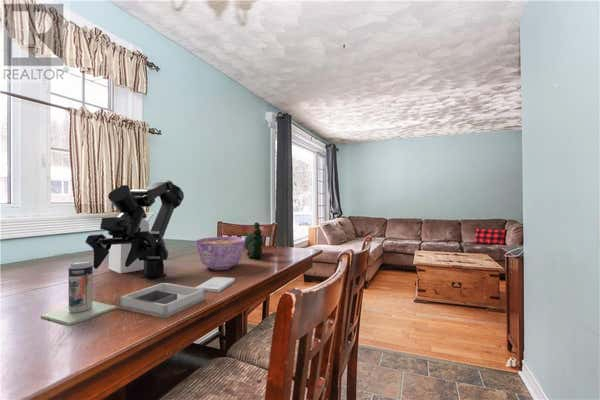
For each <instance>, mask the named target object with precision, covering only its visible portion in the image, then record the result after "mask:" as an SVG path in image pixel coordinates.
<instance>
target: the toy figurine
mask: <svg viewBox="0 0 600 400" xmlns="http://www.w3.org/2000/svg"><path fill="white" fill-rule="evenodd" d="M253 227H254V230H253V233H249V234H248V235H246V237H244V239H245V244H244V248H245V249H246V250H247V252H246V255H247V257H248V259H250V260H251V259H257V258H259V259H262V258H263V245H264V240H263V236H262V233H263V231H262V229H261V228H260V223H259V222H257V221H256V222H254V224H253Z"/></svg>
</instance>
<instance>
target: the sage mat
mask: <svg viewBox="0 0 600 400" xmlns="http://www.w3.org/2000/svg"><path fill="white" fill-rule="evenodd" d="M113 310H117V306H116V305H112V304H108V303H104V302H98V301H93V300H92V308H90V309H89V310H87V311H85V312H80V313H72V312H70V311H69V306H67V307H63V308H59V309H57V310H53V311H49V312H47V313H43V314H41V315H40V318H41V317H42V318H41V319H44V318H45V320H48V319H49V320H48V321H52V322H55V323H58V324H62V325H66V326H72V325H75V324H77V323H80V322H82V321H86V320H89V319H91V318H94V317H97V316H99V315H103V314H104V313H108V312H111V311H113Z"/></svg>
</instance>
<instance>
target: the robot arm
mask: <svg viewBox="0 0 600 400" xmlns="http://www.w3.org/2000/svg"><path fill="white" fill-rule="evenodd" d="M107 196H108V197H107V198H108V199H109V201H110V202H111V204H112V205H113V206H114V207H115V208H116V209H115V210H117V211H118V212H119V213H120V214H121V213H123V214H122V215H121V217H118V216H112V217H111V216H110V217H101V221H100V228H99V230H104V231H107V234H108V235H109V236H110V235H112V238H110V237H106V236H105V235H104V234H103V233H99V234H98V233H96V234H89V235H87V238H86V240H85V241H84V242H85V244H87V245H88V246H90V248H92V251H93V264H92V265H93V268H94V269H95V270H98V269H99V267H100V266H101V265H102V263H103V262H104V260H105V259H106V258H107V256H109V249H110V248H111V245H115V244H131V249H130V252H129V254H128V257H127V259H126V263H125V266H126V267H129V266H130V265H131V264H132V263H133V262H134V261H135V260H136V259H137V258H138V259H139V261H141V260H144V269H143V274H141V275H139V277H140V278H144V279H151V280H154V279H157V278H160V277H161V278H162V277H164V276H167V274H168V273H165V272H164V270H165V269H164V265H165V263H164V261H166V260H168V258H169V251H168V249H167V247H166V243H165V239H164V236H165V233H166V231H167V228H168V226H169V222H170V220H171V218H172V216H173V213H174V210H175V209H177V208H178V207H180V206H181V204H182V202H183V200H184V198H185V194H184V191H183V190H182V188H181V187H179V186H178V185H176V184H174V183H173V182H172V180H168V179H167V180H166V179H165V180H164V179H163V180H160V179H159V180H158V181H156V182H155V183H153V184H151V185H148V186H146V187H145V188H134V189H130V187H129V186H128V184H121V185H119V187H116V188H115V189H113V190H111V192H109V193H108V195H107ZM158 197H159V200H160V203H161V205H160V208H159V210H158V212H157V214H156V217H155V219H154V222H153V224H152V226H151V229H150V230H149V231H141V228H140V227H139V226H140V223H141V221H142V218H144V219H147V214H146V211H145V209H144V208H145V207H147V208H149V207H152V205H153V204H155V202H156V198H158Z"/></svg>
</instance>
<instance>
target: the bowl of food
mask: <svg viewBox="0 0 600 400" xmlns="http://www.w3.org/2000/svg"><path fill="white" fill-rule="evenodd" d="M244 244H245V237H244V238H243V237H237V236H212V237H204V238H203V237H202V238H199V239H196V240H195V245H196V250H197V253H198V258H199V261H200V262H201V263H202V264H203V266H205V267H207V268H210V269H211V270H214V271H224V270H229V269H231V268H232V267H234V266H235V265H236V264H238V263H239V262H240V261H241V259H242V255H243V252H244V248H245V245H244Z"/></svg>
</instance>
